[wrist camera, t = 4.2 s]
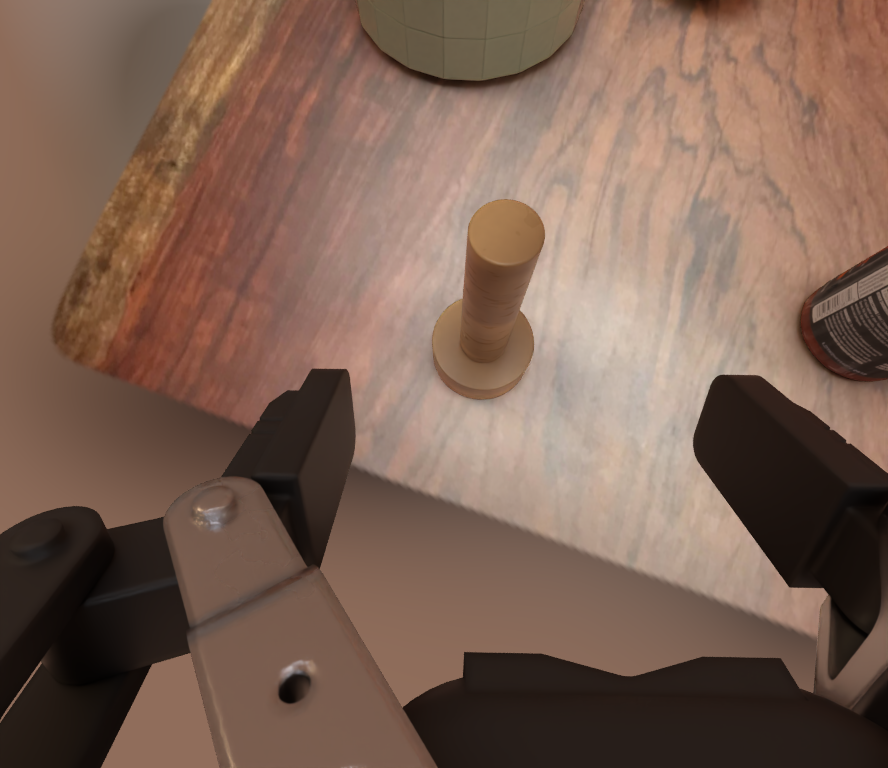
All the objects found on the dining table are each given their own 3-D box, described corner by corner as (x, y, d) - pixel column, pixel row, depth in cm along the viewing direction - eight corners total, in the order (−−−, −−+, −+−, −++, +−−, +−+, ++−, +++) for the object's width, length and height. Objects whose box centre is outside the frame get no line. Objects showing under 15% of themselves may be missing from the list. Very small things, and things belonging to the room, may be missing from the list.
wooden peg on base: (413, 359, 25) (388, 241, 14) (473, 293, 26) (492, 134, 15) (488, 419, 24) (523, 342, 13) (546, 347, 25) (624, 221, 14)
